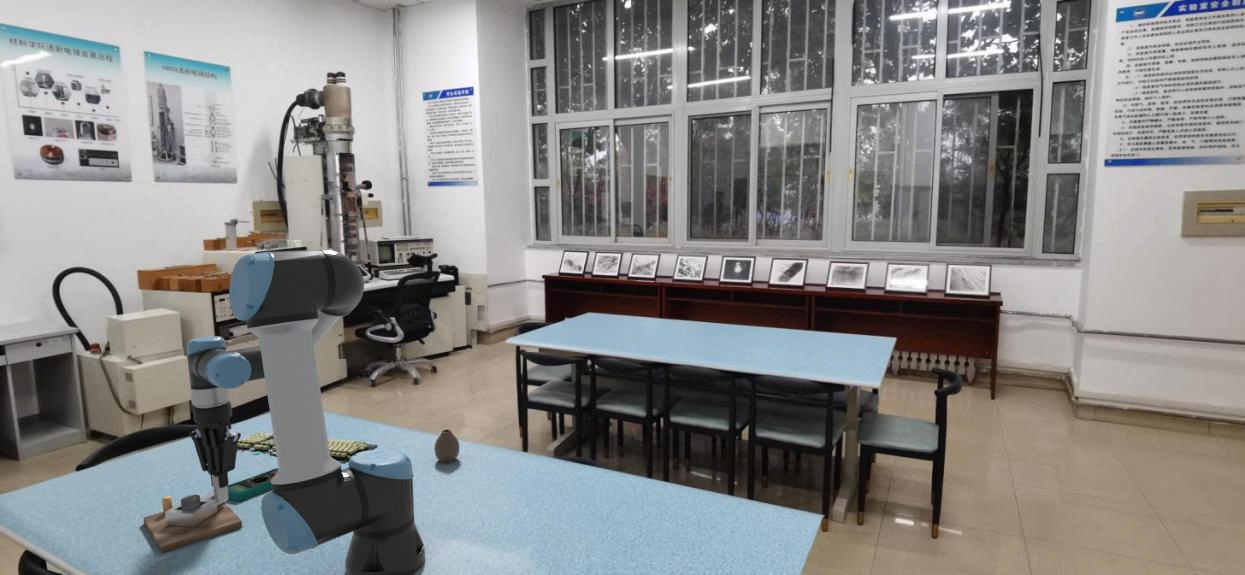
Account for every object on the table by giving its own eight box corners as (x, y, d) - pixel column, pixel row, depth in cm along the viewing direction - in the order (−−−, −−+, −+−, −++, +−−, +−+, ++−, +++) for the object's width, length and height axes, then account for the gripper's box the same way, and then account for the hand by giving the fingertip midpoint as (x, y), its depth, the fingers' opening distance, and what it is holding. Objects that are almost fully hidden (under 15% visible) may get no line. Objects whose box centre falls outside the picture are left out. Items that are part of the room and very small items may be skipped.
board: (242, 526, 142) (239, 499, 141) (161, 553, 131) (158, 524, 131) (219, 501, 154) (217, 476, 154) (144, 523, 144) (141, 496, 143)
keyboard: (378, 449, 190) (378, 441, 190) (346, 468, 176) (346, 460, 176) (255, 435, 201) (255, 428, 201) (216, 453, 187) (215, 445, 187)
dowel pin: (173, 512, 146) (172, 497, 146) (164, 514, 145) (163, 500, 144) (171, 509, 147) (170, 495, 147) (162, 512, 146) (161, 497, 146)
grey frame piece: (193, 526, 139) (192, 514, 139) (166, 524, 140) (165, 511, 139) (236, 500, 151) (235, 488, 151) (211, 498, 152) (210, 486, 152)
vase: (433, 457, 182) (432, 428, 181) (457, 453, 185) (456, 425, 184) (436, 466, 176) (435, 436, 174) (461, 462, 178) (460, 432, 177)
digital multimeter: (295, 482, 167) (294, 471, 166) (237, 504, 154) (236, 492, 154) (279, 476, 170) (278, 465, 170) (221, 497, 158) (220, 486, 157)
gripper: (247, 400, 148) (256, 495, 151) (205, 396, 151) (214, 490, 154) (219, 410, 141) (229, 509, 143) (175, 406, 144) (186, 503, 147)
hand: (221, 499), depth 149 cm, fingers closed
